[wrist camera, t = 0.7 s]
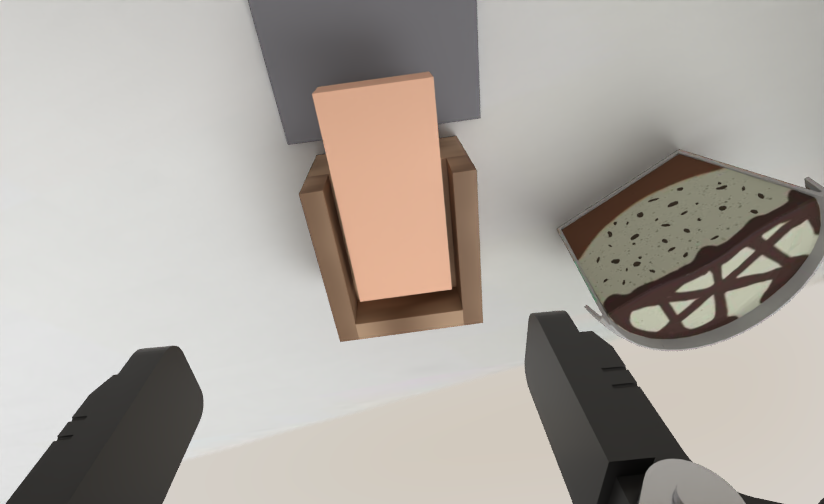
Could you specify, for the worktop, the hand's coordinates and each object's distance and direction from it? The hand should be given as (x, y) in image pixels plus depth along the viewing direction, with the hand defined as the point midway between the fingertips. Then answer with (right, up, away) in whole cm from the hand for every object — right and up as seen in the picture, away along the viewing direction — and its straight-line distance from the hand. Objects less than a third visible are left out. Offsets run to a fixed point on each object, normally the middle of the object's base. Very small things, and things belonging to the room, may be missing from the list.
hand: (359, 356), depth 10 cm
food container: (+17, +5, +21) cm, 28 cm away
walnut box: (0, +5, +19) cm, 20 cm away
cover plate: (0, +6, +14) cm, 15 cm away
